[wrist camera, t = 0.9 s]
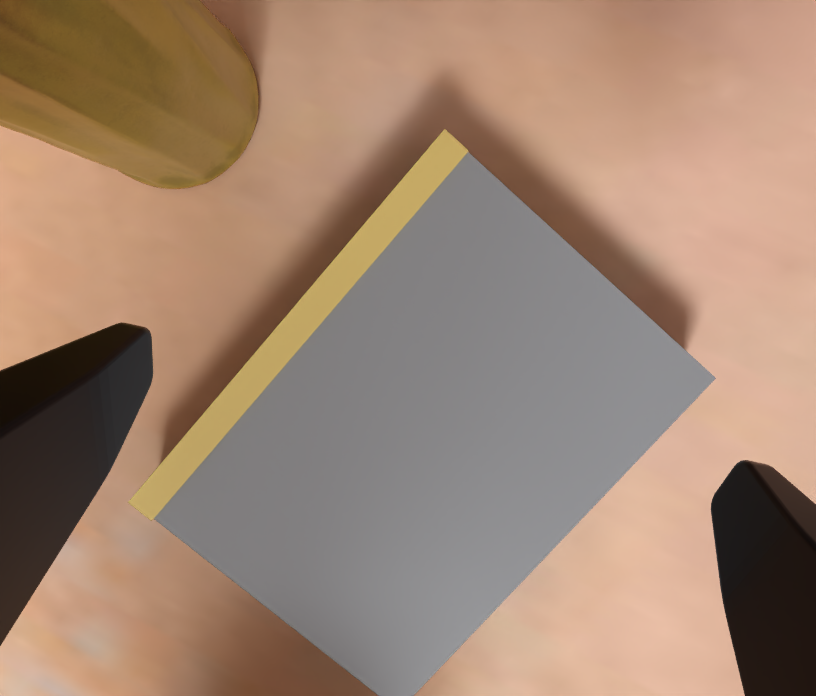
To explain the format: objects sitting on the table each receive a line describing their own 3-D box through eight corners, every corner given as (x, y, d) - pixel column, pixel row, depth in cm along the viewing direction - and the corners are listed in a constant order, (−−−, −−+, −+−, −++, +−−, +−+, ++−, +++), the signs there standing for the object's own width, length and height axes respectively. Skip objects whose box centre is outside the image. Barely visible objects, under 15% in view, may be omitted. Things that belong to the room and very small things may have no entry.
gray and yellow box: (399, 666, 25) (398, 715, 22) (159, 475, 24) (127, 502, 21) (682, 365, 23) (718, 379, 21) (439, 144, 22) (444, 128, 19)
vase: (294, 80, 22) (92, -251, 8) (197, 225, 22) (-155, 166, 8) (146, -32, 21) (-365, -610, 7) (50, 119, 22) (-591, -134, 8)
